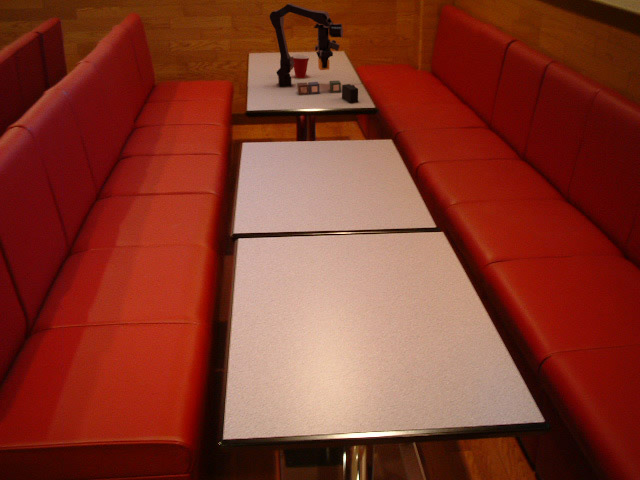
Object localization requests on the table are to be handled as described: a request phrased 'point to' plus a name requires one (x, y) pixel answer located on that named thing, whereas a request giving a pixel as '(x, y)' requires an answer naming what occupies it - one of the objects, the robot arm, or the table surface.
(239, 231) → the table surface
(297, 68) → the plastic cup
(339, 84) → the green block
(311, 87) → the slate block
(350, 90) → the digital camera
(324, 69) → the mustard block
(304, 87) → the walnut block
